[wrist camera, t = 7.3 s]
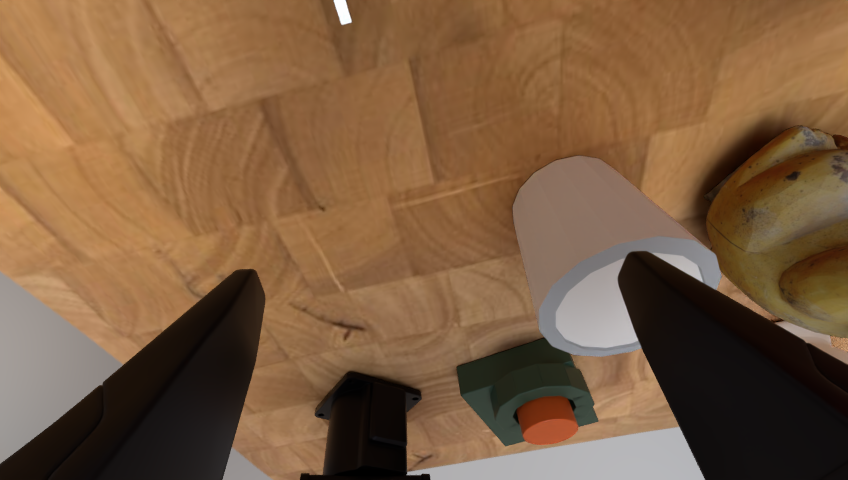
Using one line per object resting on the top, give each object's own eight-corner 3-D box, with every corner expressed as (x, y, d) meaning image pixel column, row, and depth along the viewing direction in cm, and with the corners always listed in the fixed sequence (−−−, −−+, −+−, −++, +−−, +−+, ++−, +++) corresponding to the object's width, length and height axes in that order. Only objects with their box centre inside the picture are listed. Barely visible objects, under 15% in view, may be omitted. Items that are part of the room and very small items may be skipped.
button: (574, 410, 27) (583, 436, 26) (525, 424, 28) (531, 449, 27) (562, 387, 25) (572, 414, 24) (509, 403, 26) (515, 429, 25)
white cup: (508, 146, 18) (558, 243, 13) (653, 140, 18) (761, 233, 13) (493, 256, 23) (525, 363, 17) (611, 250, 23) (678, 354, 17)
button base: (590, 394, 33) (611, 442, 30) (499, 420, 35) (510, 468, 32) (560, 323, 27) (582, 375, 24) (450, 359, 29) (457, 412, 26)
